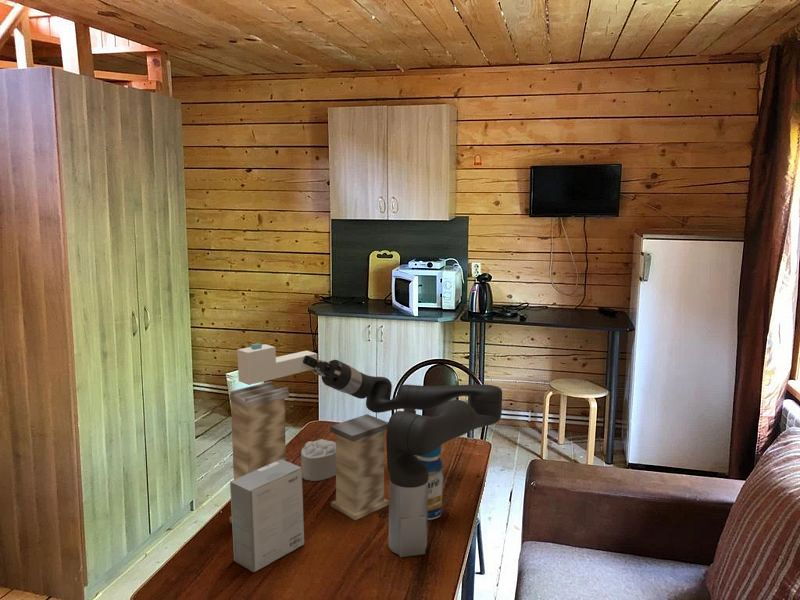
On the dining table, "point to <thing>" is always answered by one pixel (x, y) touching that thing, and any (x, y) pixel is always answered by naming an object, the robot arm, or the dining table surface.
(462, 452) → the dining table surface
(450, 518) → the dining table surface
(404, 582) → the dining table surface
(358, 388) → the robot arm
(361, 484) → the lower stand
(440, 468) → the beverage bottle
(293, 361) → the breaker module
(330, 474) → the lumpy-topped squat cylinder
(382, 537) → the dining table surface
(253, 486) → the hard drive box
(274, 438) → the stand
